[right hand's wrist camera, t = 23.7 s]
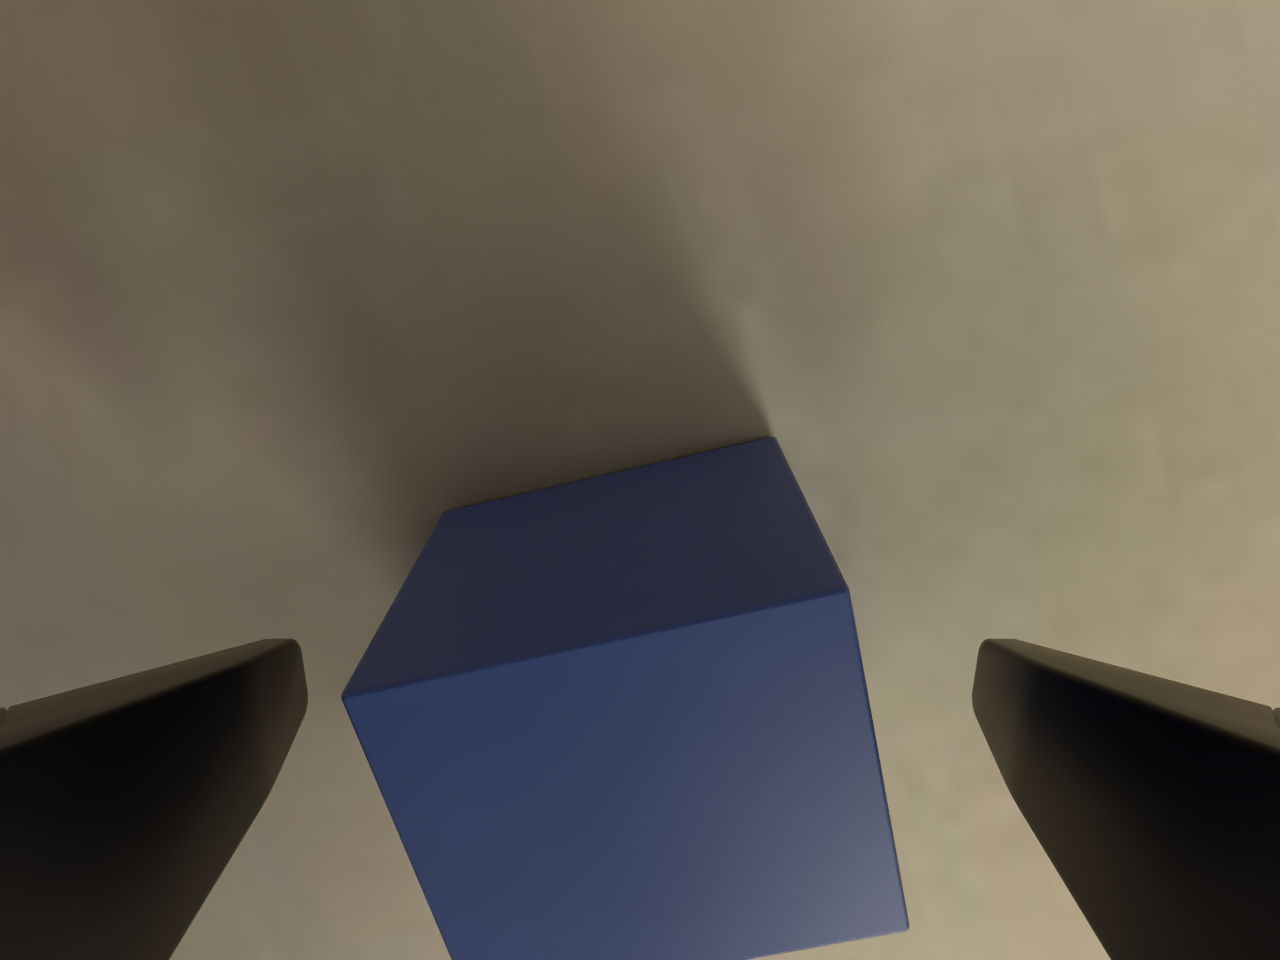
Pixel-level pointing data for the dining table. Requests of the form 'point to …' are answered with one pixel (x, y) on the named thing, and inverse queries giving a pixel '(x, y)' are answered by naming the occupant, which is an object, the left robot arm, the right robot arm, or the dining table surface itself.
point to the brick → (633, 722)
